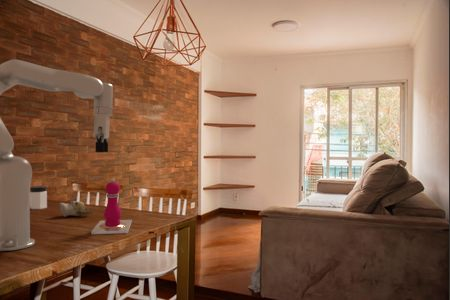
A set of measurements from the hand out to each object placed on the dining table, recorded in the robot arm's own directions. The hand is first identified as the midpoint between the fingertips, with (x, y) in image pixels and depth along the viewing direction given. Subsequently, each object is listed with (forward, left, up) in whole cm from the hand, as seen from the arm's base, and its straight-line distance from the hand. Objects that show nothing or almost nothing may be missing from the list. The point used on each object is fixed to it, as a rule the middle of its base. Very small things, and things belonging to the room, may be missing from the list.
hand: (101, 152), depth 147 cm
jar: (+55, +43, -33) cm, 77 cm away
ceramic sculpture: (+30, +17, -33) cm, 48 cm away
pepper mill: (+1, -4, -32) cm, 32 cm away
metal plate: (+1, -5, -33) cm, 33 cm away
